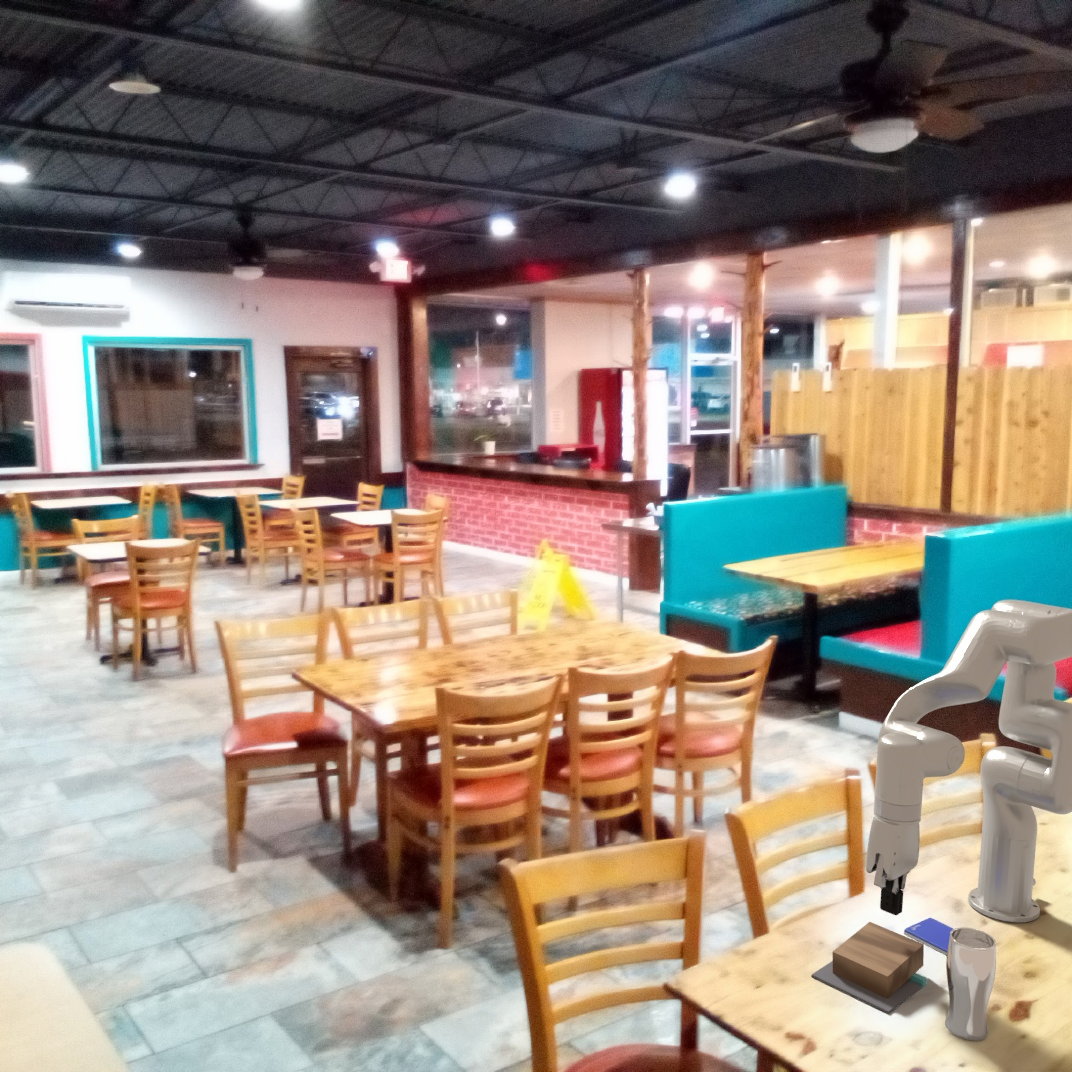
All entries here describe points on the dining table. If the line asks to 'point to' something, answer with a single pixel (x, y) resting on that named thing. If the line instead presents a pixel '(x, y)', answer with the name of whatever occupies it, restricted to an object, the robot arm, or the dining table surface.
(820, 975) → the mat
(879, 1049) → the dining table surface
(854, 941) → the slab
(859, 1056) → the dining table surface
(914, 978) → the stop strip
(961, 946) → the beer glass
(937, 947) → the hard drive
